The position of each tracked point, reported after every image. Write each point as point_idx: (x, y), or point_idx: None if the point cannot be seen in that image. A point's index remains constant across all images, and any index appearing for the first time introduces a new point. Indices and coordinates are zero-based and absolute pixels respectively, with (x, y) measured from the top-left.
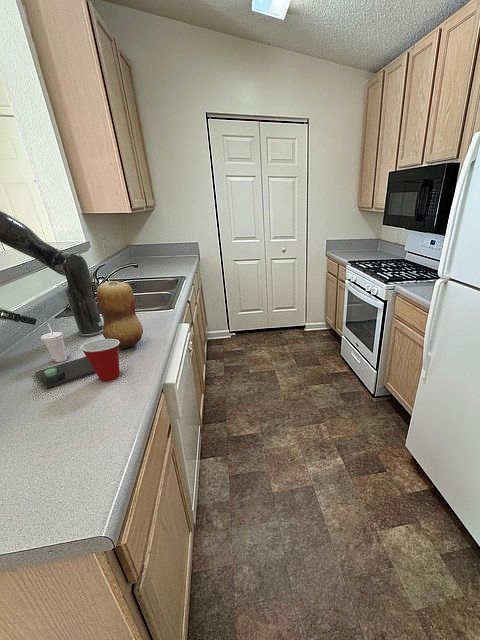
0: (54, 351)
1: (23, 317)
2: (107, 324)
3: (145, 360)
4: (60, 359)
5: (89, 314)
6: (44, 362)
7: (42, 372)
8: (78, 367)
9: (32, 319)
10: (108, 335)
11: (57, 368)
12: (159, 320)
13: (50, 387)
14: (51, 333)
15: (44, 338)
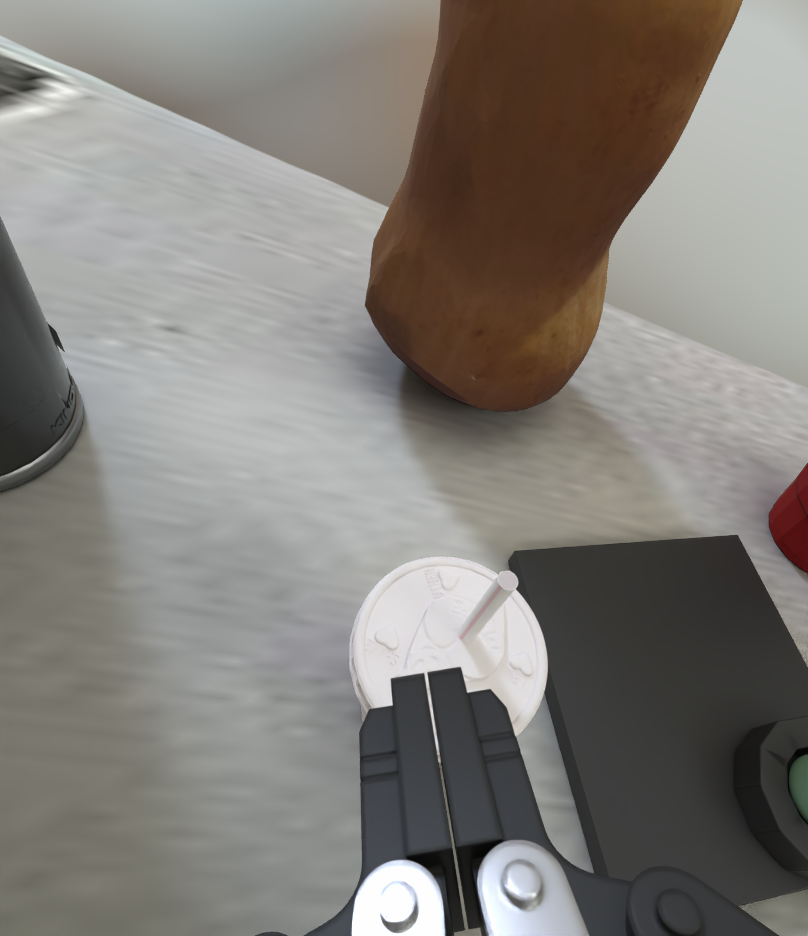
0: None
1: (549, 842)
2: (573, 289)
3: (681, 382)
4: None
5: (20, 285)
6: None
7: None
8: (680, 633)
9: (507, 715)
10: (563, 360)
11: (634, 754)
12: (175, 168)
13: None
14: (477, 633)
15: (525, 721)
